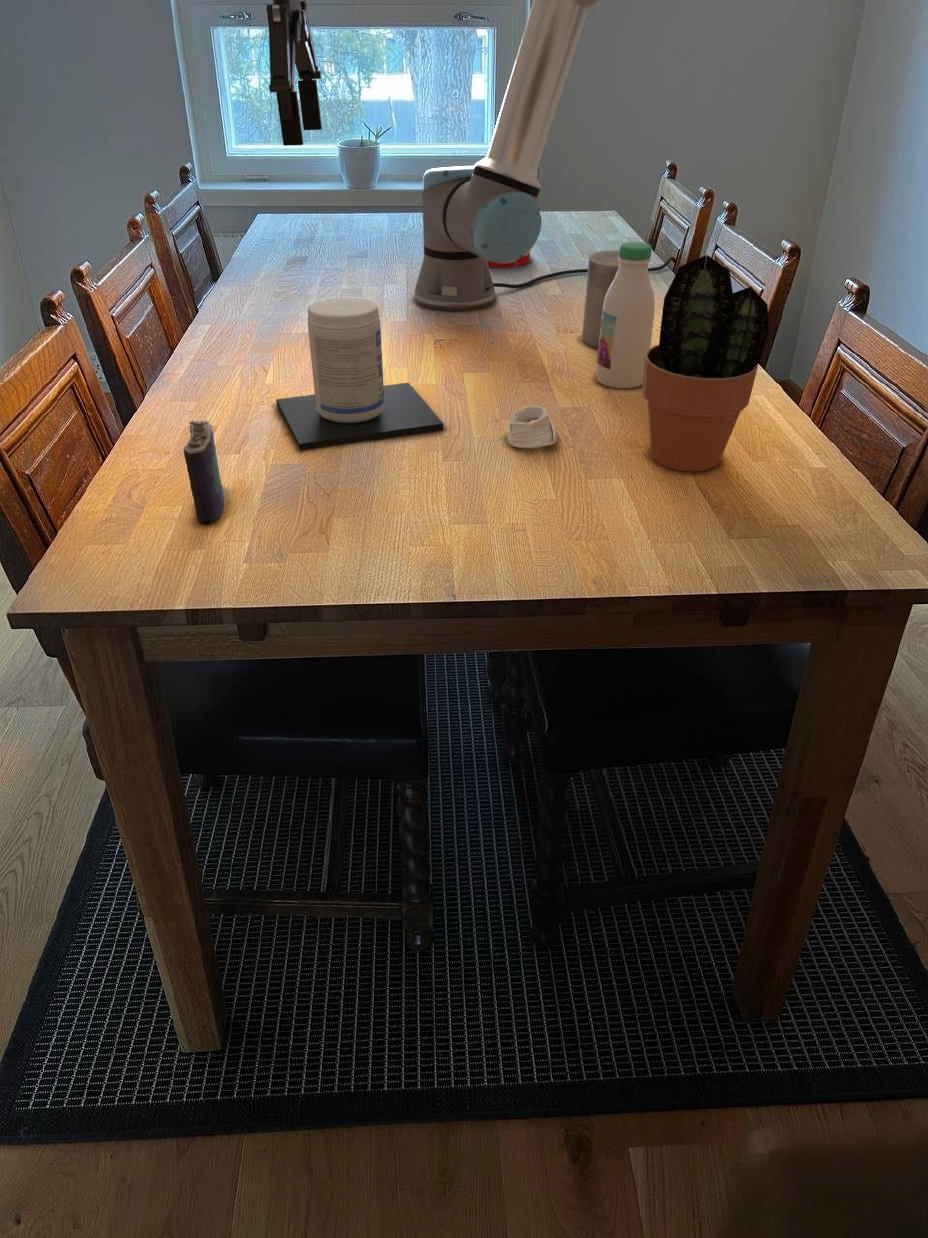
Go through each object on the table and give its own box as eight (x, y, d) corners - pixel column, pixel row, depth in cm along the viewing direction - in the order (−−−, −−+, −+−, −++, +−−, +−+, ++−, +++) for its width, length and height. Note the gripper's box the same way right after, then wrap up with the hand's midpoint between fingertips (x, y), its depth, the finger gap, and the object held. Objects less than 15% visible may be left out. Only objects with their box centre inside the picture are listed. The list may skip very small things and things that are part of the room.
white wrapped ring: (562, 458, 121) (568, 425, 118) (512, 457, 119) (518, 423, 116) (547, 429, 127) (553, 397, 124) (500, 428, 125) (505, 395, 122)
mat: (408, 388, 138) (408, 382, 137) (443, 430, 126) (443, 423, 125) (276, 405, 132) (275, 399, 132) (299, 450, 120) (299, 443, 119)
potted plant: (676, 489, 112) (709, 279, 97) (611, 447, 122) (633, 250, 107) (761, 467, 117) (805, 264, 103) (693, 428, 127) (724, 238, 112)
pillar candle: (645, 336, 158) (656, 245, 150) (628, 353, 151) (639, 259, 142) (591, 328, 162) (599, 238, 153) (573, 345, 154) (580, 252, 146)
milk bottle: (649, 375, 143) (667, 240, 132) (640, 392, 137) (658, 253, 126) (601, 368, 145) (614, 236, 134) (590, 385, 139) (603, 248, 128)
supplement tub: (397, 416, 127) (393, 309, 118) (335, 431, 123) (327, 321, 114) (363, 393, 133) (358, 290, 125) (304, 407, 129) (294, 301, 121)
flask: (202, 488, 111) (188, 405, 105) (227, 487, 111) (214, 404, 105) (195, 526, 104) (179, 439, 97) (221, 525, 104) (207, 437, 98)
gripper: (275, -42, 132) (296, 124, 144) (227, -40, 112) (257, 152, 124) (326, -44, 131) (343, 123, 144) (288, -43, 111) (311, 151, 124)
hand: (303, 137), depth 134 cm, fingers open, 13 cm apart
